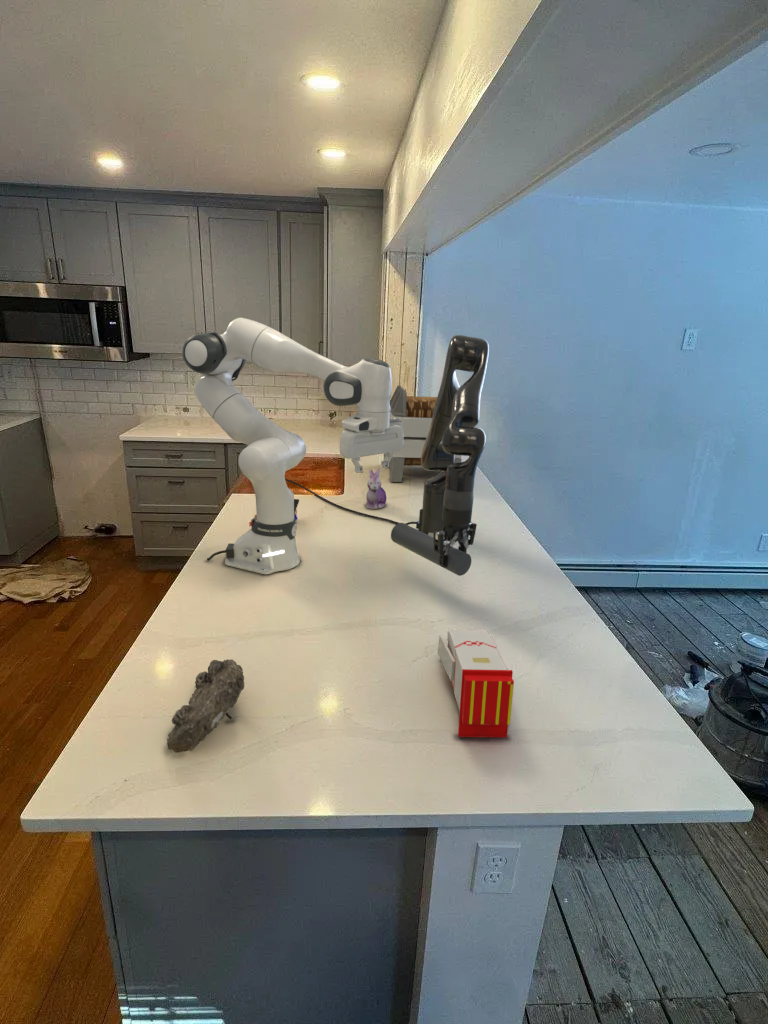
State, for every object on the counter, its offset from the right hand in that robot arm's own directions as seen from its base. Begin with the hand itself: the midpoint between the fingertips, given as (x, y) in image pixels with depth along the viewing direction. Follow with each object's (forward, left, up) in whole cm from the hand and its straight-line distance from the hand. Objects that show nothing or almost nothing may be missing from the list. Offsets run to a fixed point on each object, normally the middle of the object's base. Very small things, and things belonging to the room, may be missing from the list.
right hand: (452, 563), depth 151 cm
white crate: (-75, +104, -12) cm, 129 cm away
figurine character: (-74, +14, -12) cm, 76 cm away
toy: (+22, -31, -12) cm, 40 cm away
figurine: (-62, +51, -12) cm, 81 cm away
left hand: (-27, 0, +20) cm, 34 cm away
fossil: (-13, -69, -12) cm, 71 cm away
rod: (-9, +2, -2) cm, 9 cm away
